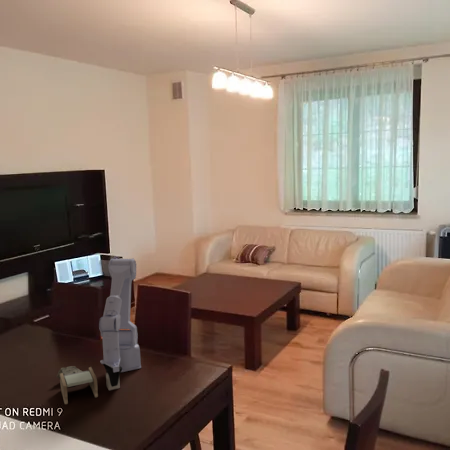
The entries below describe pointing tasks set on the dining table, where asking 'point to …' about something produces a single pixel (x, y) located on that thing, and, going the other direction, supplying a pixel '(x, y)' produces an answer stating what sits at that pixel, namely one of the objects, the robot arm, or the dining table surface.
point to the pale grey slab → (78, 378)
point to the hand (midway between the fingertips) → (113, 383)
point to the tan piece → (92, 384)
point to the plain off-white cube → (110, 383)
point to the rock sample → (68, 371)
